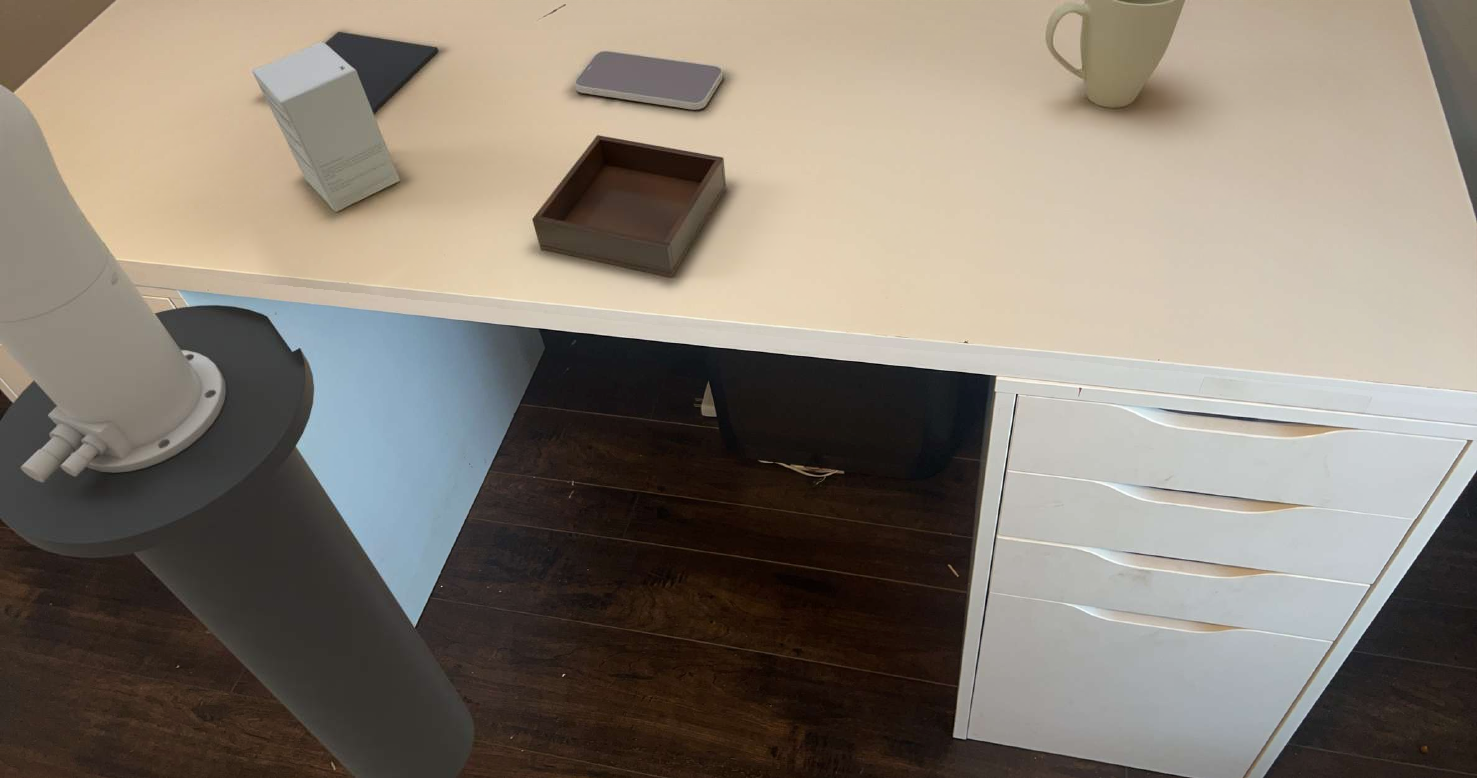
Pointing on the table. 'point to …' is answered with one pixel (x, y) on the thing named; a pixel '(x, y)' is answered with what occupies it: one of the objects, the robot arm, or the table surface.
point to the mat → (380, 63)
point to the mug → (1118, 45)
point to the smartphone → (649, 79)
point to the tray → (631, 205)
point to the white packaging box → (328, 124)
